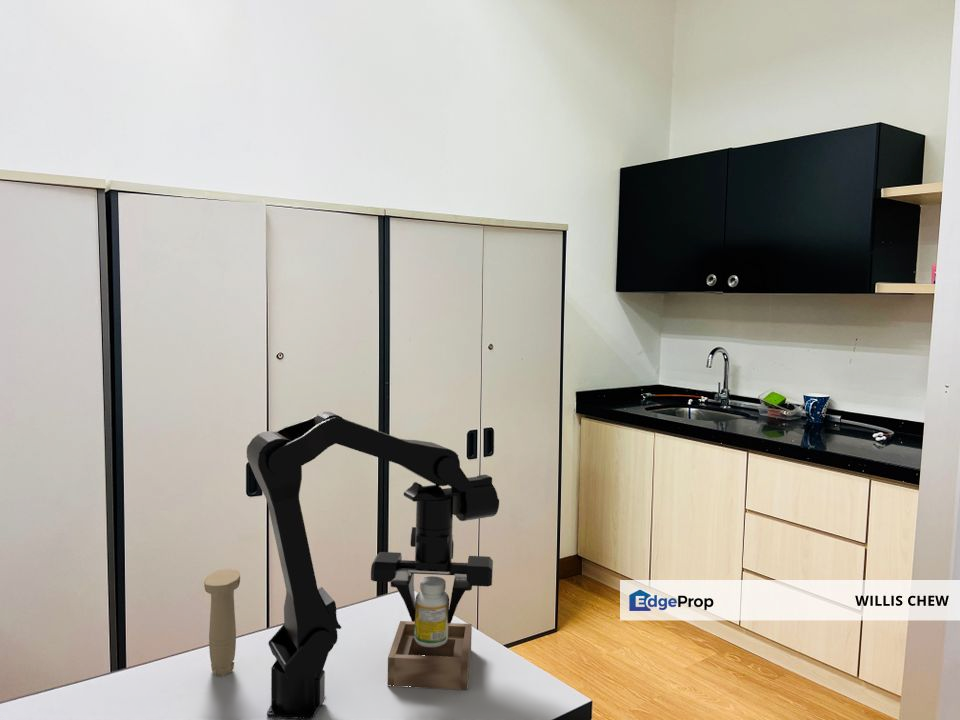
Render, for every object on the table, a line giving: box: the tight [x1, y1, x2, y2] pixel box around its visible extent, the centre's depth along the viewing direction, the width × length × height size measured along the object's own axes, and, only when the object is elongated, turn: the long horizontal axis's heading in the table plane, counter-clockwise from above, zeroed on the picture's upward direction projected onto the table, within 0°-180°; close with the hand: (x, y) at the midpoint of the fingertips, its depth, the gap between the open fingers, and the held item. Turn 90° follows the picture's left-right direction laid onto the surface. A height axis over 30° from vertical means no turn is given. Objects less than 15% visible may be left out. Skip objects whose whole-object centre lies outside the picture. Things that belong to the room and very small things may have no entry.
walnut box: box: [387, 620, 473, 691], centre depth 108 cm, size 12×12×4 cm
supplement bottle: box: [415, 576, 450, 647], centre depth 108 cm, size 5×5×10 cm
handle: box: [203, 568, 241, 677], centre depth 105 cm, size 5×6×15 cm
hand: (431, 621), depth 108 cm, fingers closed on supplement bottle, 5 cm apart
